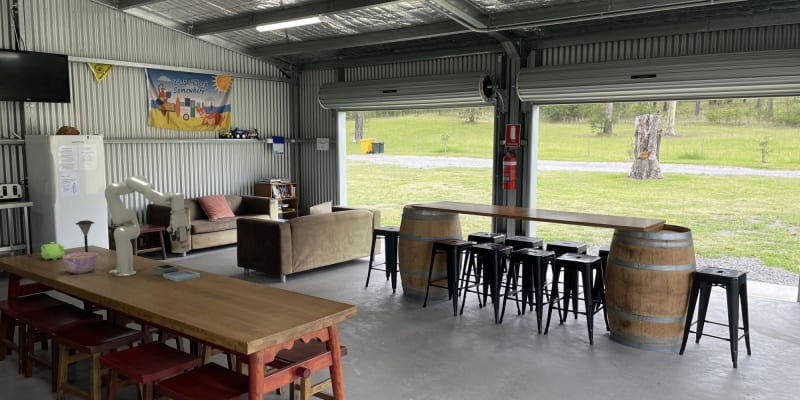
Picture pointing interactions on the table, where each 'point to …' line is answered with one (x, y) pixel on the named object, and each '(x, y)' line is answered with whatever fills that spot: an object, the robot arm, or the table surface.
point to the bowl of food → (80, 262)
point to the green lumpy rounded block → (52, 251)
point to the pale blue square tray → (181, 275)
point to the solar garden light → (85, 230)
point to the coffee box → (180, 240)
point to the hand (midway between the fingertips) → (179, 240)
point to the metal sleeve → (165, 269)
